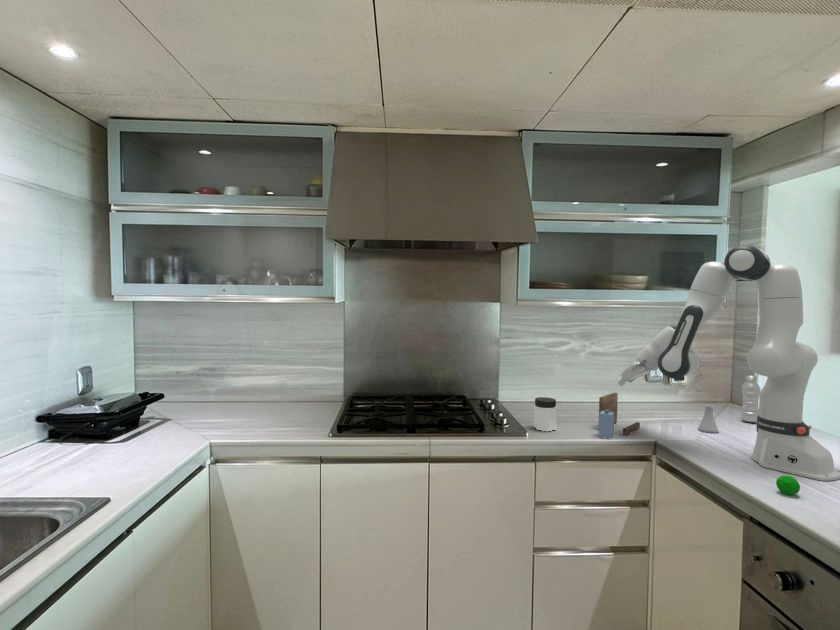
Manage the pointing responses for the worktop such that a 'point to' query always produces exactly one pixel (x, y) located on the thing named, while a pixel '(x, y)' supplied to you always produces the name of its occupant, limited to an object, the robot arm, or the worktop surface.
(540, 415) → the jar
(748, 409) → the plastic bottle
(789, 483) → the polyhedron
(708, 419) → the flask
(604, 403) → the cleat board
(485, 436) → the worktop surface
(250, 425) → the worktop surface
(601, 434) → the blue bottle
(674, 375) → the robot arm
